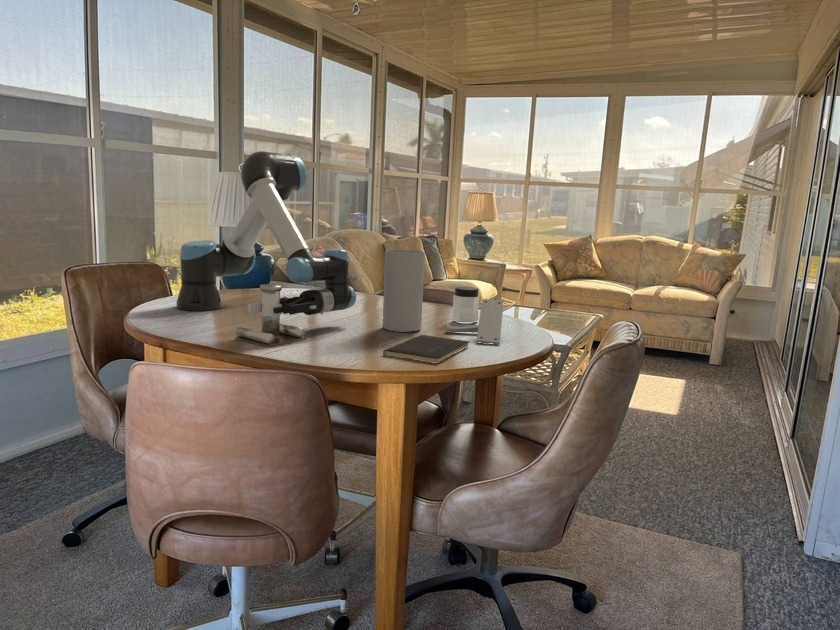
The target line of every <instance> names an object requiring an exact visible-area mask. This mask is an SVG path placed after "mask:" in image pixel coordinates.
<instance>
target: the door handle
mask: <svg viewBox="0 0 840 630" xmlns="http://www.w3.org/2000/svg"><path fill="white" fill-rule="evenodd" d="M504 302H505V301H504V300H502V299H501V300H499V299H491V298H482V300H481V304H480V305H481V306H480V313H479V318H478V325H477V324H476V325H475V324H474V325H466V326H465V325H464V326H453V325H451V324H450V323H446V324H445V326H444V327H445V332H446V331H449V332H472V333H477V336H476V343H477V342H481V343H493V344H499V345H500V343H501V335H502V334H501V333H502V324H503V322H502V321H503V314H504V313H503V311H504Z"/></svg>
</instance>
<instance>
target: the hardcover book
mask: <svg viewBox="0 0 840 630" xmlns="http://www.w3.org/2000/svg"><path fill="white" fill-rule="evenodd" d="M469 343H471V342H470V341H468V340H461V339H455V338H448V337H447V338H446V337H441V336H440V337H439V336H434V335H426V334H419V335H416V336H414V337H412V338H409V339H408V340H407V339H406V340H405V341H403V342H399V343H398V344H396V345H393V346H391V347H388V348H385V349H383V352H382V356H383V355H389V356H388V357H390V356H395V357H394V358H397V357H402V358H401V359H403V358H410V359H417V360H425V361H430V362H439V361H441V360H443V359H444V358H446V357H448V356H450V355H452V354H454V353H455V352H457V351H459V350H461V349H463V348H465V347H467V346H468V347H469ZM468 347H467V348H468ZM443 361H444V360H443Z"/></svg>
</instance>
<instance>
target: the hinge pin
mask: <svg viewBox="0 0 840 630" xmlns="http://www.w3.org/2000/svg"><path fill="white" fill-rule="evenodd" d="M282 289H283V286H282V285H281V284H278V283H277V284H276V283H266V284H265V283H264V284H263V283H262V284H260V285H259V290H260V291H261V302H262V307H263V306H270V305H277V304H280V298H281V291H283V290H282ZM280 317H281V314H278V315H271V316H265V317H263V316H262V315H261V332H265V333H269V334H273V335H274V336H276V335H279V334H280V324H281V323H280V322H281V318H280Z"/></svg>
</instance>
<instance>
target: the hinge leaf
mask: <svg viewBox="0 0 840 630" xmlns="http://www.w3.org/2000/svg"><path fill="white" fill-rule="evenodd" d="M305 334H306V330H305V329H304V328H302V327H298V326H295V325H288V324H286V323H285V324H284V323H280V334H279V335H276V336H274V335H273V334H269V333H265V332H262V331H259V330H256V329H250V328H247V327H242V326H238V327H237V328H236V329H235V336H234V340H237V339H238V340H237V341H242V342H245V343H250V344H253V345H257V346H261V347H266V348H272V347H276V346H277V347H278V346H280V345H286V344H292V343H296V342H301V341H305V340H307V337H306V336H305Z"/></svg>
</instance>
